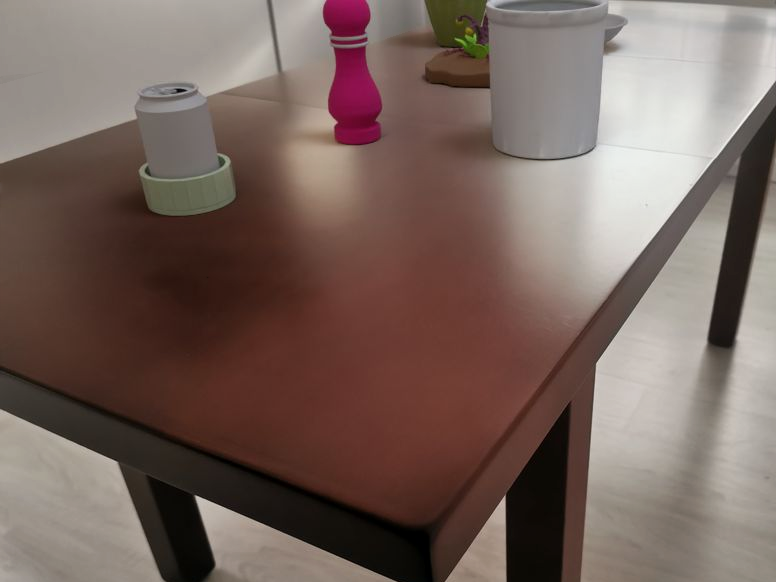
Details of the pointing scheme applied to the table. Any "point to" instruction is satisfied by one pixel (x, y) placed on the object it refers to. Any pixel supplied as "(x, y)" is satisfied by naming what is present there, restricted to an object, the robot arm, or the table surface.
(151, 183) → the ramekin
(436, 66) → the plant
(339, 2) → the pepper mill
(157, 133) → the can
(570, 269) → the table surface
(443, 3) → the flower pot
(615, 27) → the dish
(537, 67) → the utensil holder
